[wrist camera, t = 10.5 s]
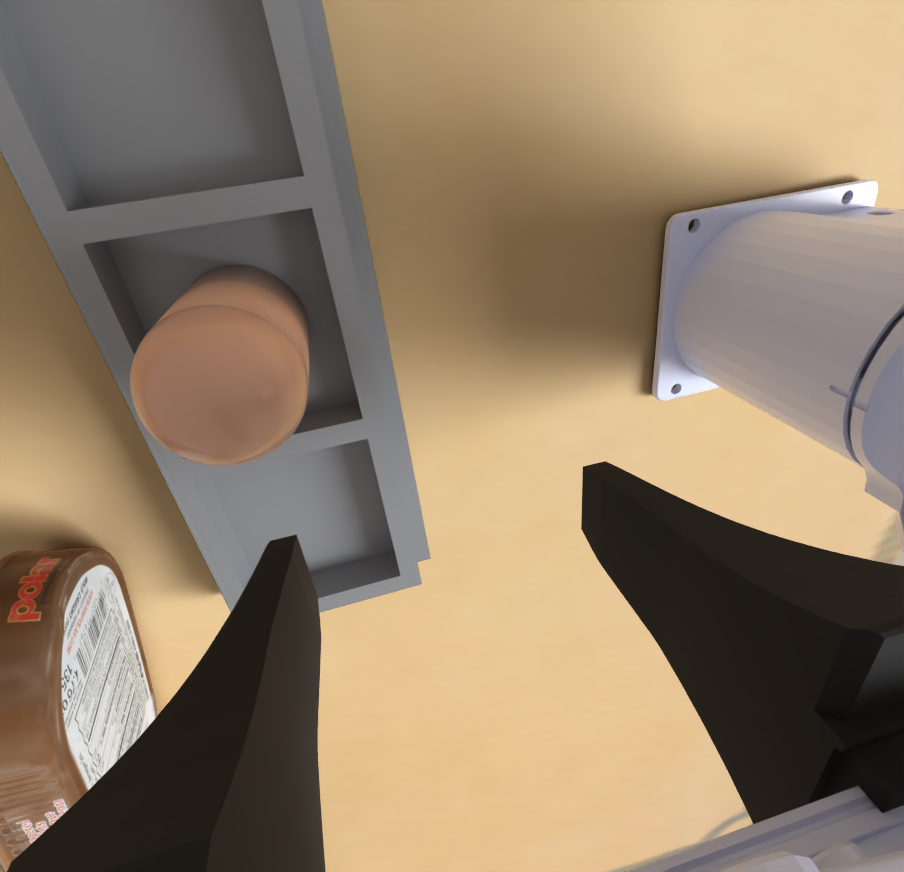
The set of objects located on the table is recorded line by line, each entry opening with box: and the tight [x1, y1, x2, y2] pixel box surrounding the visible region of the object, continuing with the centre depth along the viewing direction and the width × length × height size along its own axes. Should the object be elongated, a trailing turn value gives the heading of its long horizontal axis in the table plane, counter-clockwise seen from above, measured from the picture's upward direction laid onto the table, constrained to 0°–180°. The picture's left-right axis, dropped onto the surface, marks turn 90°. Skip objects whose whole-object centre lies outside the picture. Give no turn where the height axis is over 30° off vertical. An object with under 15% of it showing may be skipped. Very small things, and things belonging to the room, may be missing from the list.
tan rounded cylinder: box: [130, 265, 309, 466], centre depth 14 cm, size 4×4×7 cm
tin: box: [0, 548, 157, 872], centre depth 20 cm, size 15×3×8 cm, turn 174°
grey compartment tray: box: [0, 0, 430, 613], centre depth 17 cm, size 9×24×3 cm, turn 7°
